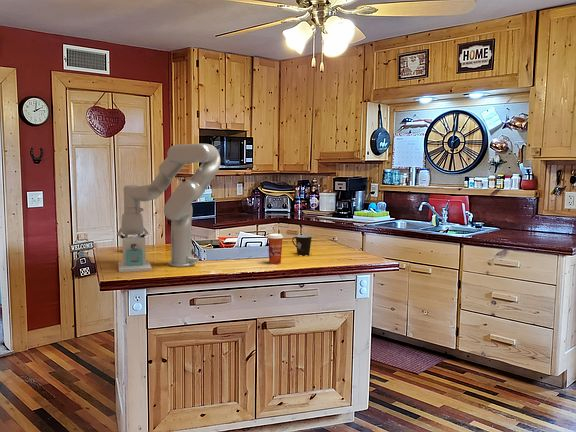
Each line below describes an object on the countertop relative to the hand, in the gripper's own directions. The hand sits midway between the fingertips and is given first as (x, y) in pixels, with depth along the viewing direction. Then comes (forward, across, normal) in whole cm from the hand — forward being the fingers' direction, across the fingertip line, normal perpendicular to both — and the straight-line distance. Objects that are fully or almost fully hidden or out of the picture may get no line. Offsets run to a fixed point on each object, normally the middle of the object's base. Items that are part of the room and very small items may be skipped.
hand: (132, 247), depth 255 cm
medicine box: (+7, -2, -27) cm, 28 cm away
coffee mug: (+7, -87, +2) cm, 87 cm away
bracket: (+7, 0, +11) cm, 13 cm away
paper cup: (+7, -66, +19) cm, 69 cm away
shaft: (0, 0, +8) cm, 8 cm away
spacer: (+6, 0, +13) cm, 15 cm away
